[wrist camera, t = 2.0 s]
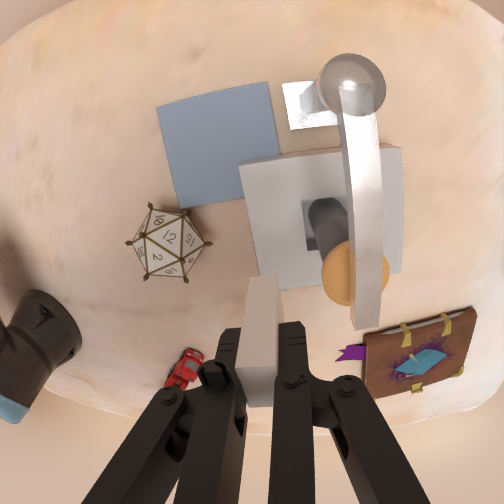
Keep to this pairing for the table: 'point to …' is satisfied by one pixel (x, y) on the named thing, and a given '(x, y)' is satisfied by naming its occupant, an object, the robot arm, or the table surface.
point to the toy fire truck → (184, 369)
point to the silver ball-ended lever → (359, 174)
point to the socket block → (297, 206)
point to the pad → (216, 141)
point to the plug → (335, 248)
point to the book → (414, 354)
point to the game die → (167, 243)
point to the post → (306, 106)
